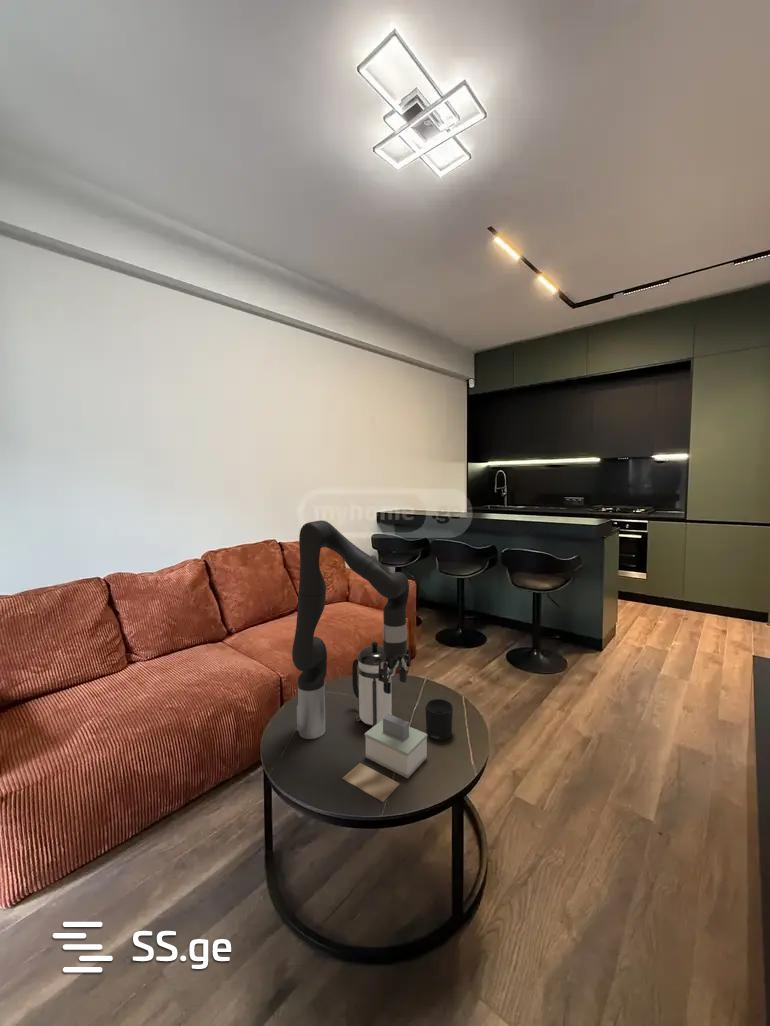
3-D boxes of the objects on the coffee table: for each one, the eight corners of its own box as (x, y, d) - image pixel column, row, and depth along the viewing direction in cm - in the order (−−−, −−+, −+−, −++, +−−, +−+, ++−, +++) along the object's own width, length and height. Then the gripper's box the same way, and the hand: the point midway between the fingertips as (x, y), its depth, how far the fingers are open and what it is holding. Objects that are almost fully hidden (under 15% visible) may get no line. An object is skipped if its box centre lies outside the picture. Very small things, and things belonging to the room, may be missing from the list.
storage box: (365, 757, 131) (365, 736, 130) (386, 739, 139) (385, 720, 139) (407, 778, 121) (407, 756, 121) (426, 758, 130) (426, 737, 129)
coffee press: (397, 709, 158) (396, 633, 156) (394, 734, 142) (393, 650, 140) (353, 707, 160) (352, 632, 158) (345, 731, 144) (343, 649, 142)
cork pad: (342, 779, 121) (342, 777, 121) (359, 764, 127) (359, 762, 127) (383, 802, 112) (383, 800, 112) (399, 784, 119) (399, 783, 119)
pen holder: (420, 730, 145) (420, 703, 144) (442, 722, 149) (442, 696, 148) (435, 745, 136) (435, 716, 135) (458, 737, 140) (458, 709, 140)
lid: (364, 740, 130) (364, 720, 130) (385, 723, 139) (385, 704, 139) (407, 760, 120) (407, 738, 120) (427, 740, 130) (427, 720, 129)
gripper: (398, 627, 135) (398, 675, 136) (371, 641, 124) (371, 693, 125) (417, 632, 131) (417, 681, 132) (391, 647, 119) (391, 700, 121)
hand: (395, 687), depth 128 cm, fingers open, 8 cm apart
